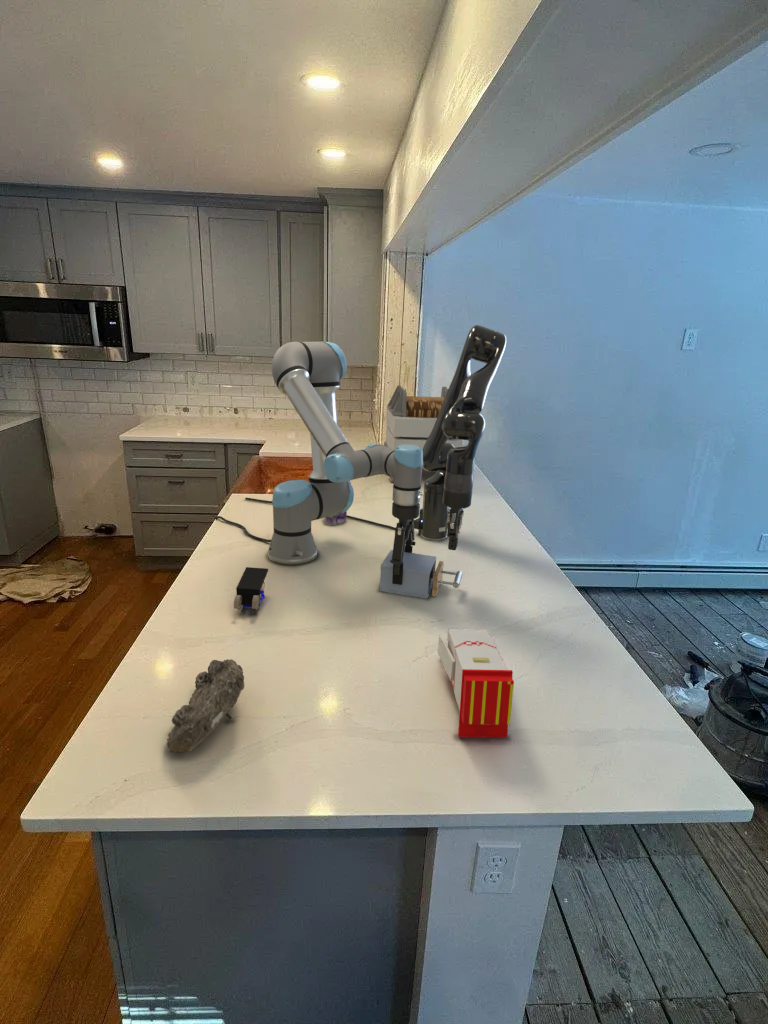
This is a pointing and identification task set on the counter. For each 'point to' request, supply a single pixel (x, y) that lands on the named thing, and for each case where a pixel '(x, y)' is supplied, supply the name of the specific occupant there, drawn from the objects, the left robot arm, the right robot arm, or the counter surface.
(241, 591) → the black wheeled rover
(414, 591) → the cabinet
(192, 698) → the fossil
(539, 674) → the counter surface
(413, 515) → the left robot arm
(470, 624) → the counter surface
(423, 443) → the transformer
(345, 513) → the figurine
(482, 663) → the toy
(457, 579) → the drawer
